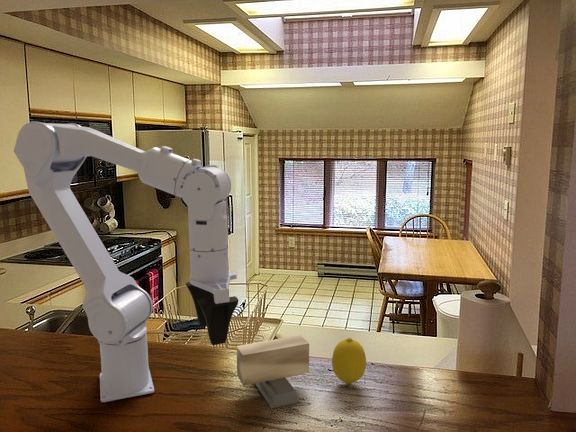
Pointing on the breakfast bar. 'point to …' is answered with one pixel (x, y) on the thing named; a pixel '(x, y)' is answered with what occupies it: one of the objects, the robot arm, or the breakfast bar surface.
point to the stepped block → (278, 392)
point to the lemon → (349, 361)
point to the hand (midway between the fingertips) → (212, 333)
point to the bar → (272, 359)
